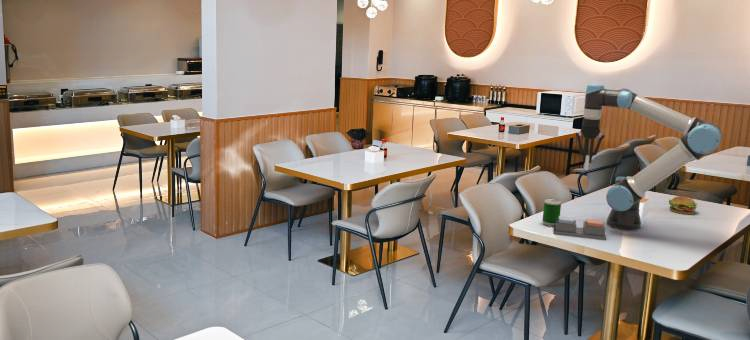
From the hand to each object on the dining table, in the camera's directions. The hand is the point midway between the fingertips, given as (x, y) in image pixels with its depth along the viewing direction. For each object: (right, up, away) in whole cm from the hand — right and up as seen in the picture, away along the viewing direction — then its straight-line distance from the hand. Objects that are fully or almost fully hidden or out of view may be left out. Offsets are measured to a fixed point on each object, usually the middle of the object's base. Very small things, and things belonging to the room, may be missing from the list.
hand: (586, 169), depth 305 cm
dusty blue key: (-12, -25, -9) cm, 29 cm away
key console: (-6, -29, -10) cm, 31 cm away
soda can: (-16, -26, +3) cm, 30 cm away
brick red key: (0, -26, -12) cm, 28 cm away
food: (+63, -22, +42) cm, 79 cm away
